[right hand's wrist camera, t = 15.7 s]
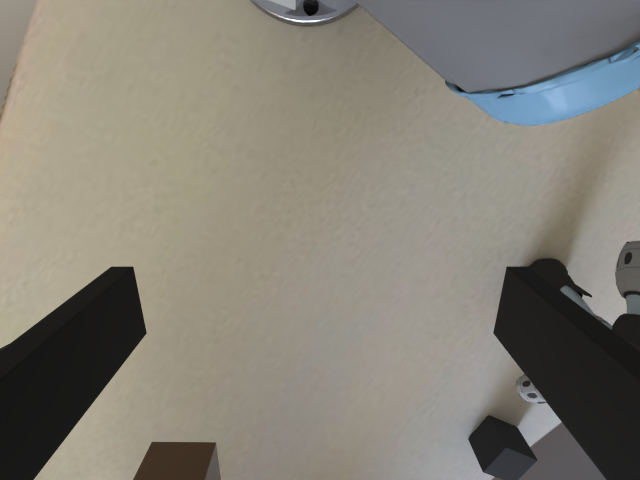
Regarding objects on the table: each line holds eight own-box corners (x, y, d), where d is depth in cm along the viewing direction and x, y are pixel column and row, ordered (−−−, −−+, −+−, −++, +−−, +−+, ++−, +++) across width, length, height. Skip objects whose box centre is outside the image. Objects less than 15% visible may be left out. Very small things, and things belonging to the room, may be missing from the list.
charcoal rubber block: (488, 415, 49) (506, 447, 45) (517, 427, 50) (537, 460, 46) (467, 438, 51) (482, 472, 46) (496, 450, 52) (513, 484, 47)
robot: (568, 206, 39) (801, 297, 20) (604, 223, 40) (861, 327, 21) (472, 343, 45) (580, 511, 26) (504, 356, 46) (632, 528, 27)
